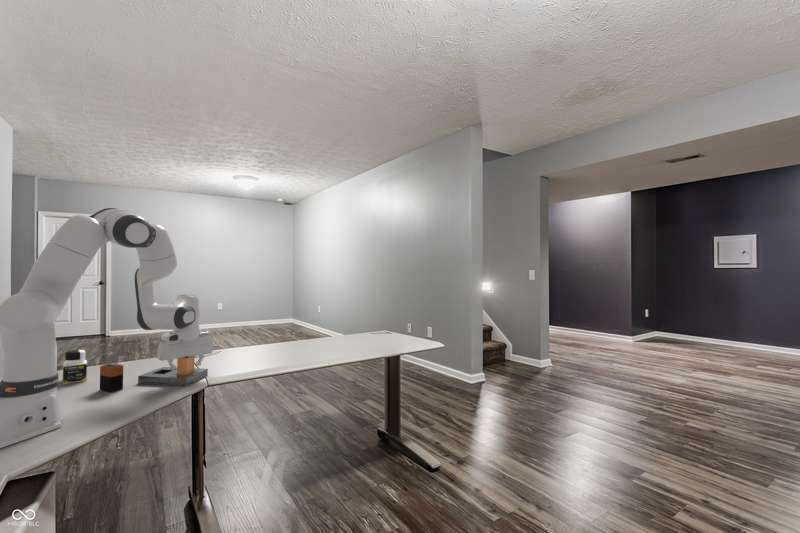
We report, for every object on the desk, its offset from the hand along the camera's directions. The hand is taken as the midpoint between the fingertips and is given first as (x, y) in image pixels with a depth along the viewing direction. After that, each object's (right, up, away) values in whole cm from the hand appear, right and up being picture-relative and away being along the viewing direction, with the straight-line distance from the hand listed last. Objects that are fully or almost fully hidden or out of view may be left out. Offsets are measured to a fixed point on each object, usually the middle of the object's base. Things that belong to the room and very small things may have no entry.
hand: (186, 367), depth 152 cm
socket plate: (-5, -5, 0) cm, 7 cm away
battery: (-20, -5, -13) cm, 25 cm away
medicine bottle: (-43, -4, -4) cm, 43 cm away
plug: (0, -5, 0) cm, 5 cm away
